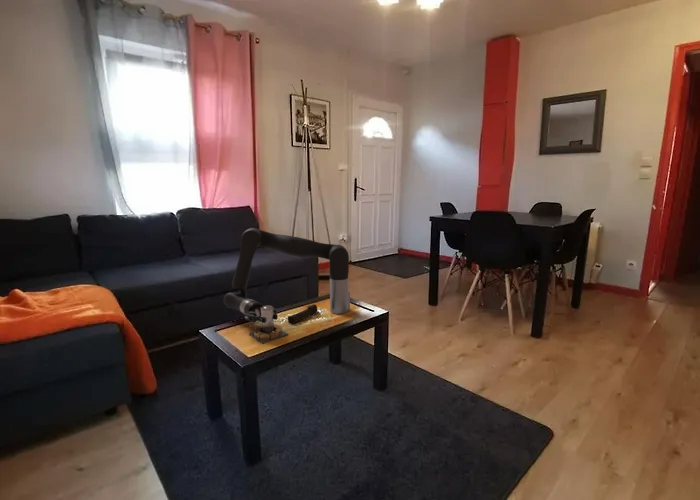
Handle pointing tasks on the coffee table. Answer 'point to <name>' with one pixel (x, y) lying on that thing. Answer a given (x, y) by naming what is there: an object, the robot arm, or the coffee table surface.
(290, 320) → the hand tool
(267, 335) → the ring plate
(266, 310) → the cylinder
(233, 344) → the coffee table surface
